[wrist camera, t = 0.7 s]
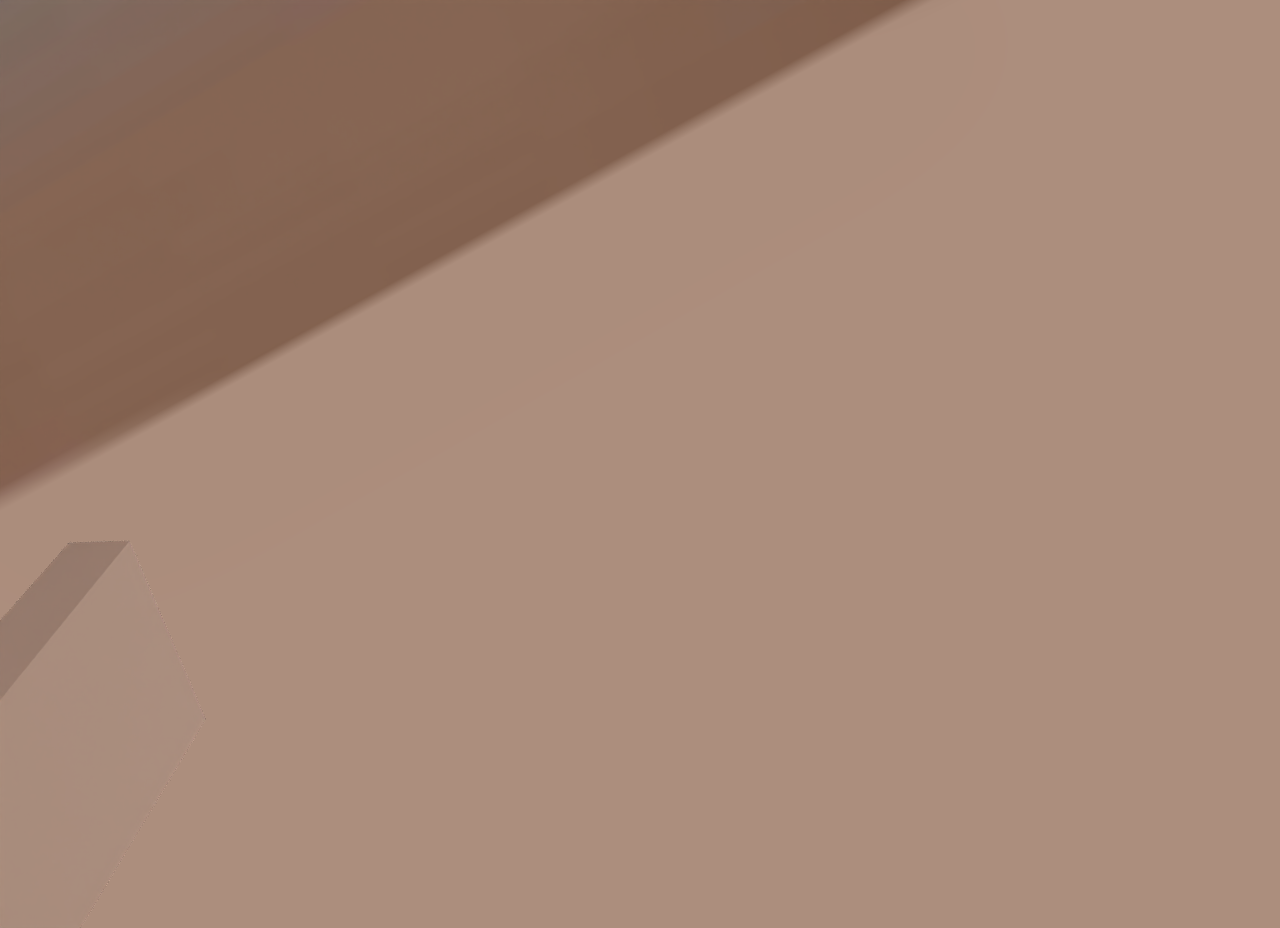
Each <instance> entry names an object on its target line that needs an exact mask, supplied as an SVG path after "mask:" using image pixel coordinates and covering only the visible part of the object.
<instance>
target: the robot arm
mask: <svg viewBox="0 0 1280 928" xmlns="http://www.w3.org/2000/svg"><path fill="white" fill-rule="evenodd" d="M205 720H206V718H205V716H204V714H203V711H202V709H201V707H200V705H199V702H198V700H197V697H196V695H195V693H194V690H193V688H192V685H191V683H190V681H189V678H188V676H187V674H186V671H185V669H184V667H183V664H182V662H181V660H180V657H179V655H178V653H177V650H176V648H175V646H174V643H173V641H172V639H171V636H170V634H169V632H168V629H167V627H166V625H165V622H164V620H163V618H162V615H161V613H160V611H159V608H158V606H157V603H156V601H155V599H154V596H153V594H152V592H151V589H150V587H149V585H148V582H147V580H146V578H145V575H144V573H143V570H142V568H141V566H140V564H139V561H138V559H137V557H136V554H135V552H134V549H133V547H132V545H131V543H130V541H108V542H77V543H76V542H73V543H68V545H67V546H66V547H65V548H64V549H63V550H62V551H61V552H60V553H59V555H58V556H57V557H56V558H55V559H54V560H53V561H52V562H51V564H50V565H49V566H48V567H47V568H46V569H45V571H44V572H43V573H42V574H41V575H40V576H39V577H38V578H37V580H36V581H35V582H34V583H33V584H32V585H31V586H30V587H29V589H28V590H27V591H26V592H25V593H24V594H23V595H22V596H21V598H20V599H19V600H18V601H17V602H16V603H15V604H14V606H13V607H12V608H11V609H10V610H9V611H8V612H7V614H6V615H5V616H4V617H3V618H2V619H1V620H0V928H81V926H82V925H83V923H84V922H85V920H86V918H87V916H88V915H89V913H90V912H91V910H92V908H93V907H94V905H95V903H96V901H97V900H98V898H99V896H100V895H101V893H102V892H103V890H104V888H105V887H106V885H107V883H108V882H109V880H110V878H111V876H112V875H113V873H114V872H115V870H116V868H117V866H118V865H119V863H120V862H121V860H122V858H123V857H124V855H125V853H126V851H127V850H128V848H129V847H130V845H131V843H132V841H133V840H134V838H135V836H136V835H137V833H138V831H139V830H140V828H141V826H142V825H143V823H144V821H145V820H146V818H147V816H148V815H149V813H150V811H151V810H152V808H153V806H154V805H155V803H156V801H157V800H158V798H159V796H160V795H161V793H162V791H163V790H164V788H165V786H166V785H167V783H168V781H169V780H170V778H171V776H172V775H173V773H174V771H175V770H176V768H177V766H178V765H179V763H180V761H181V760H182V758H183V756H184V755H185V753H186V751H187V750H188V748H189V746H190V745H191V743H192V741H193V740H194V738H195V736H196V735H197V733H198V731H199V730H200V728H201V726H202V725H203V723H204V721H205Z"/></svg>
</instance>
